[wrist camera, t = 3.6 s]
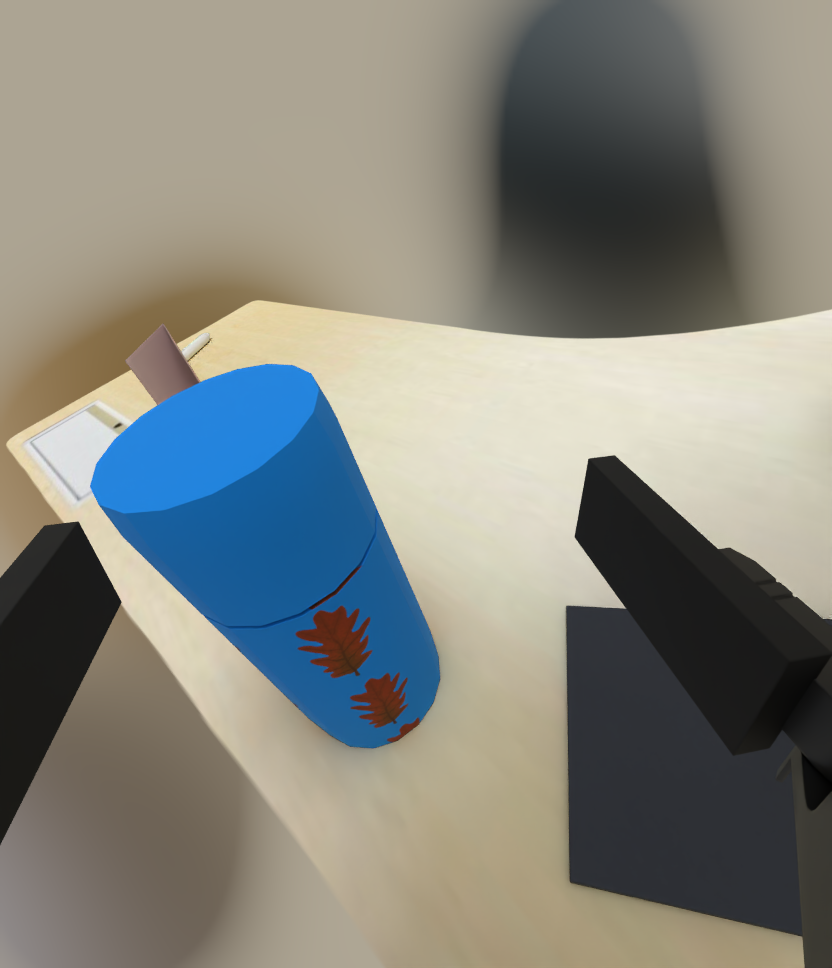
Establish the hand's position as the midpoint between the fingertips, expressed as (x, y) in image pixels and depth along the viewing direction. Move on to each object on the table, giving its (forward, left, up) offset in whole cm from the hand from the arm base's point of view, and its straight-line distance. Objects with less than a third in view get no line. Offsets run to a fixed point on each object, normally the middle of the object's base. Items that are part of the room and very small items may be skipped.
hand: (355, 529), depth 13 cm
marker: (-70, -72, -26) cm, 104 cm away
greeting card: (-45, -49, -26) cm, 71 cm away
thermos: (-7, -10, -26) cm, 28 cm away
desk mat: (-5, +15, -26) cm, 30 cm away
